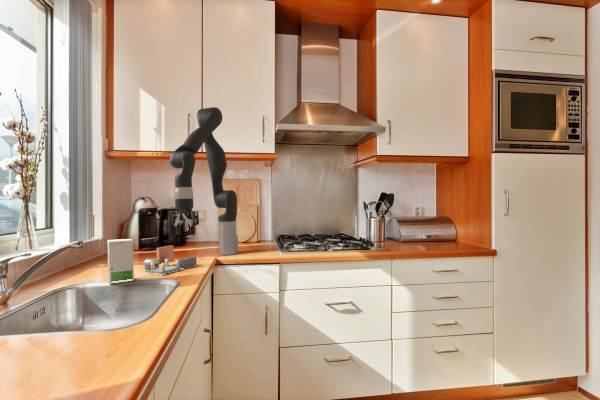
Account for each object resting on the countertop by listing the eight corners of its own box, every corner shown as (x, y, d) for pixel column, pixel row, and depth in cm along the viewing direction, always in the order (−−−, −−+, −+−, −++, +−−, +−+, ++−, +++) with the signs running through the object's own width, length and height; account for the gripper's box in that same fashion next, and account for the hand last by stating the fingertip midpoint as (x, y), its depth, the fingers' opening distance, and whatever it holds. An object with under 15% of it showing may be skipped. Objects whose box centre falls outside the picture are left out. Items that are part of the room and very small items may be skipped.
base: (153, 267, 151) (153, 263, 151) (162, 268, 148) (161, 264, 148) (142, 270, 146) (141, 265, 146) (150, 271, 143) (150, 266, 143)
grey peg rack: (150, 267, 143) (149, 250, 143) (141, 266, 146) (140, 249, 145) (177, 261, 155) (176, 245, 155) (168, 260, 158) (167, 245, 158)
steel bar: (191, 265, 154) (190, 256, 154) (196, 266, 153) (196, 257, 153) (176, 269, 147) (176, 259, 147) (182, 269, 146) (182, 260, 146)
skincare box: (109, 285, 123) (107, 241, 123) (107, 281, 129) (106, 240, 128) (135, 281, 128) (133, 239, 127) (132, 277, 133) (130, 237, 133)
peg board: (168, 268, 148) (168, 258, 147) (181, 270, 144) (181, 259, 144) (148, 274, 139) (148, 262, 139) (161, 275, 135) (161, 264, 135)
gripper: (202, 197, 149) (203, 234, 150) (179, 197, 156) (180, 233, 156) (189, 197, 143) (190, 236, 143) (165, 198, 150) (167, 235, 150)
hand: (185, 234), depth 150 cm, fingers open, 8 cm apart
